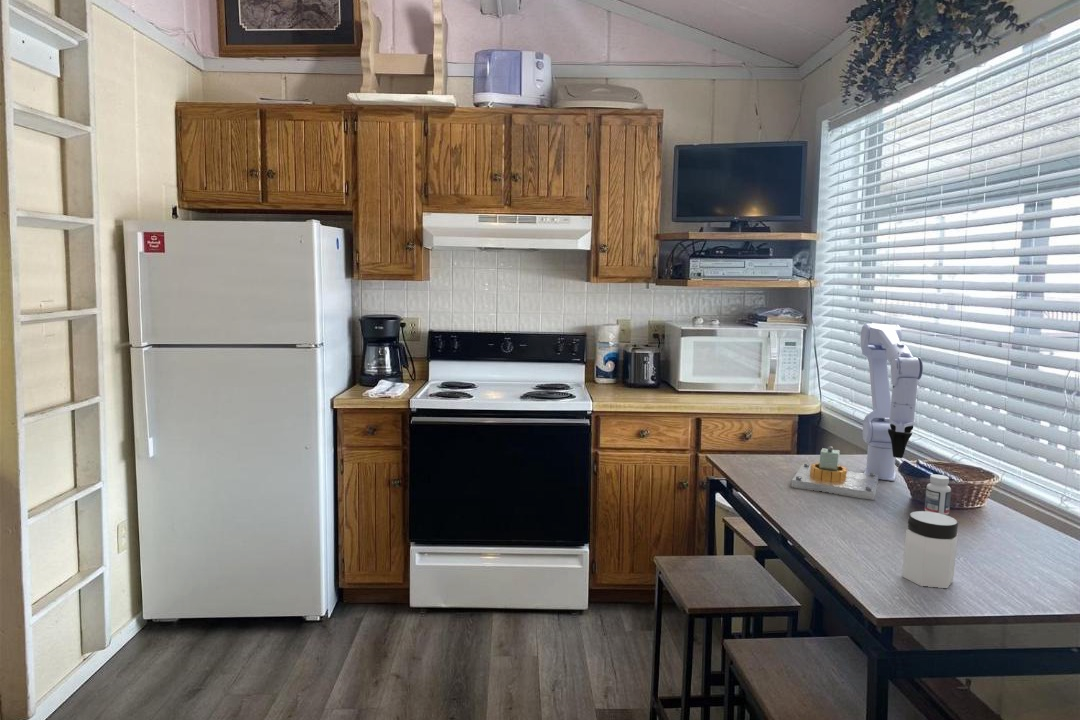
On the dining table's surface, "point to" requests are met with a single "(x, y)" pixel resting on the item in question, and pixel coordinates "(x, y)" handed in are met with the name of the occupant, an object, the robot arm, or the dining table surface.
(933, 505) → the pill bottle
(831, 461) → the mint green square pillar
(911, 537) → the jar
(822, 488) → the bolted plate with ring
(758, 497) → the dining table surface
